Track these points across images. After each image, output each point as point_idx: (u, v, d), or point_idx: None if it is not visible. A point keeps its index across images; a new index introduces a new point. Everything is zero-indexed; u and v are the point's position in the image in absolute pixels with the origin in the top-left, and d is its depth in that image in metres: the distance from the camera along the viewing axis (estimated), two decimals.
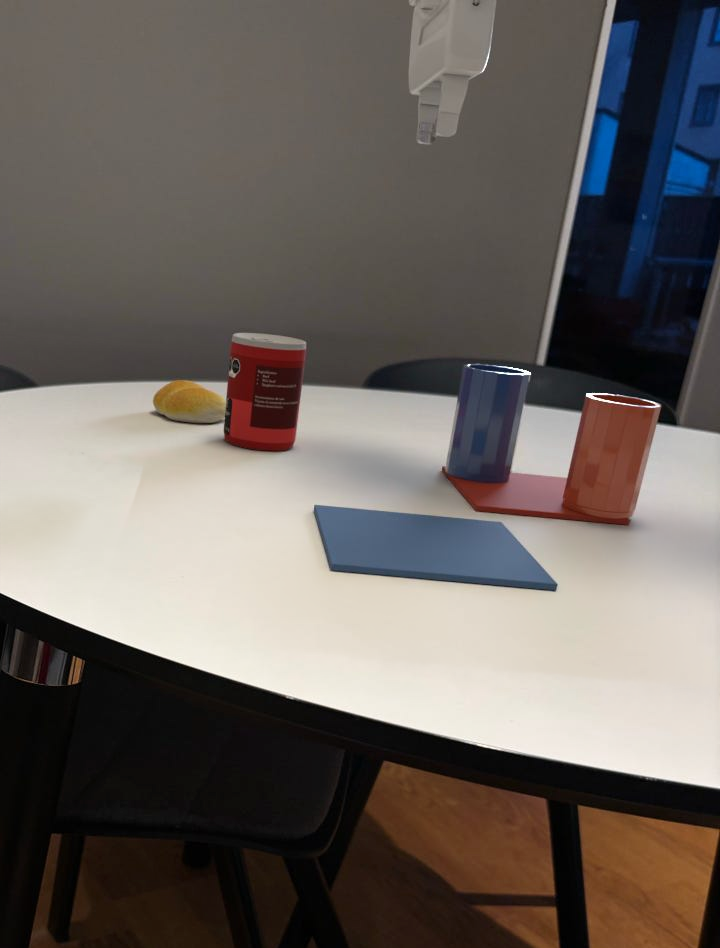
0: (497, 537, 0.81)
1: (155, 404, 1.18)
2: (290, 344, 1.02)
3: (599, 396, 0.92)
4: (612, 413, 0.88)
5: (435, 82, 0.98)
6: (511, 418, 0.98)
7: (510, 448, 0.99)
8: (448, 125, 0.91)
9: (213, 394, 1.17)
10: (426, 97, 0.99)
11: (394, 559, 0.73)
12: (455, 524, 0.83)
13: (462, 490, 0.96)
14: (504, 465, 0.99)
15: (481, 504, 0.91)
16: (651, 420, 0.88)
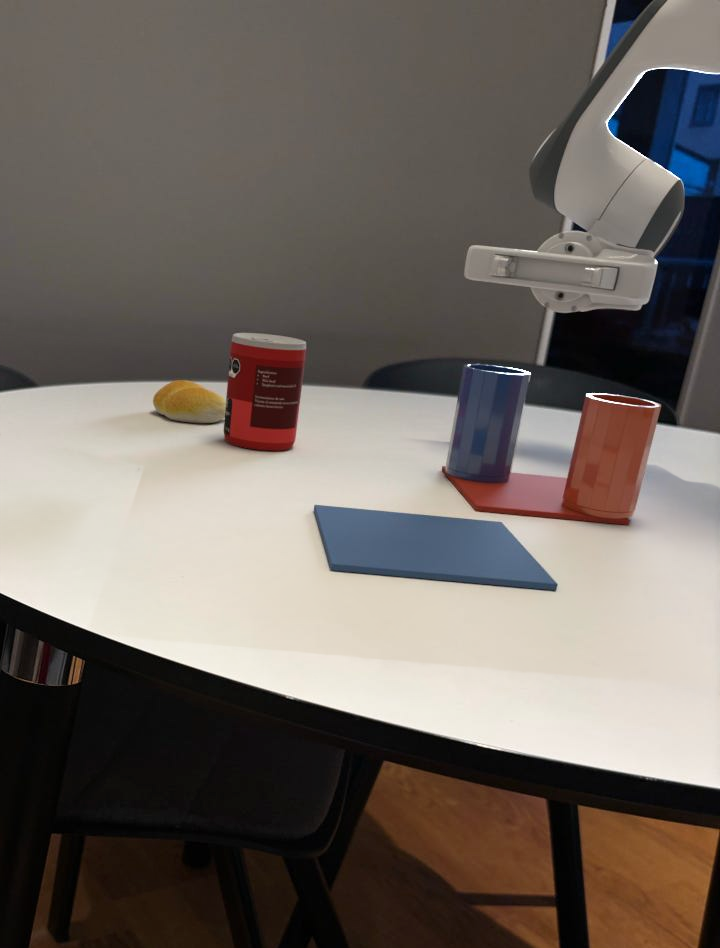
0: (497, 537, 0.81)
1: (155, 404, 1.18)
2: (290, 344, 1.02)
3: (599, 396, 0.92)
4: (612, 413, 0.88)
5: None
6: (511, 418, 0.98)
7: (510, 448, 0.99)
8: None
9: (213, 394, 1.17)
10: None
11: (394, 559, 0.73)
12: (455, 524, 0.83)
13: (462, 490, 0.96)
14: (504, 465, 0.99)
15: (481, 504, 0.91)
16: (651, 420, 0.88)
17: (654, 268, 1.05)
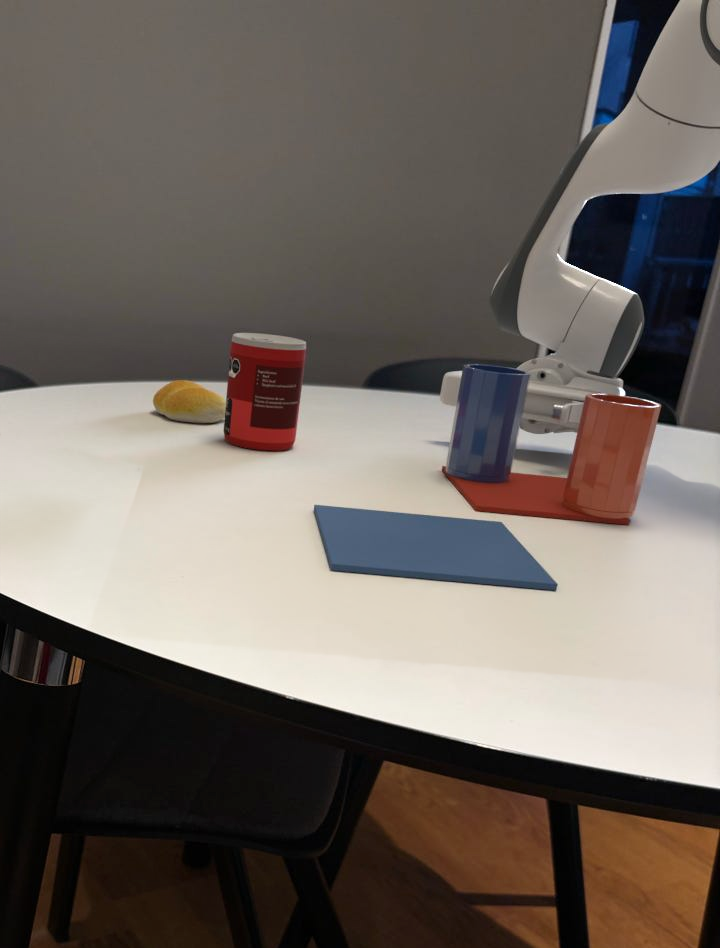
0: (497, 537, 0.81)
1: (155, 404, 1.18)
2: (290, 344, 1.02)
3: (599, 396, 0.92)
4: (612, 413, 0.88)
5: None
6: (511, 418, 0.98)
7: (510, 448, 0.99)
8: None
9: (213, 394, 1.17)
10: None
11: (394, 559, 0.73)
12: (455, 524, 0.83)
13: (462, 490, 0.96)
14: (504, 465, 0.99)
15: (481, 504, 0.91)
16: (651, 420, 0.88)
17: None
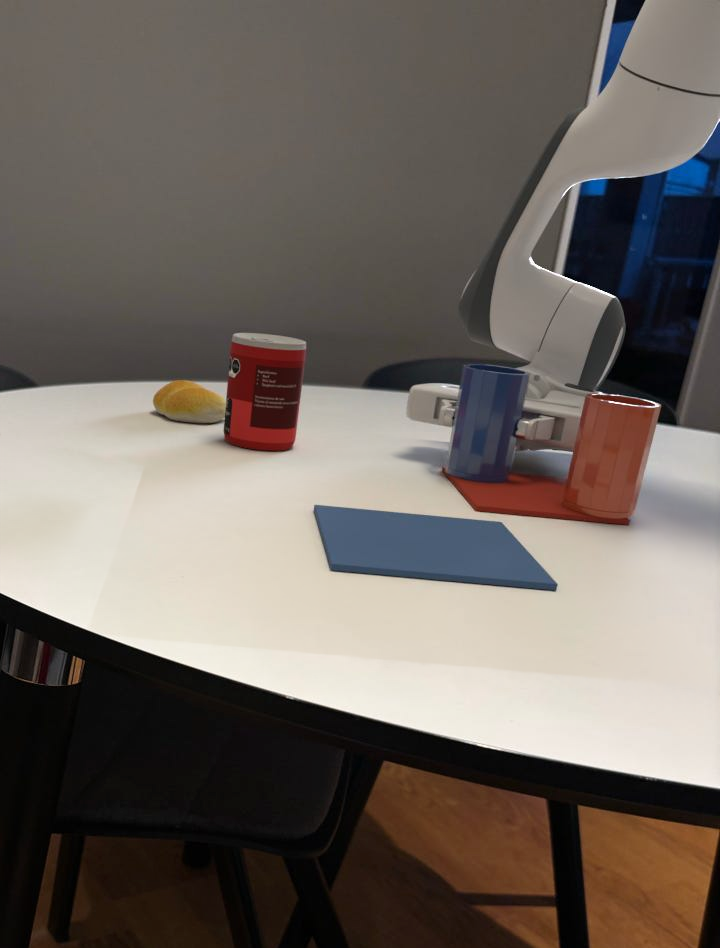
0: (497, 537, 0.81)
1: (155, 404, 1.18)
2: (290, 344, 1.02)
3: (599, 396, 0.92)
4: (612, 413, 0.88)
5: None
6: (511, 418, 0.98)
7: (510, 448, 0.99)
8: None
9: (213, 394, 1.17)
10: None
11: (394, 559, 0.73)
12: (455, 524, 0.83)
13: (462, 490, 0.96)
14: (504, 465, 0.99)
15: (481, 504, 0.91)
16: (651, 420, 0.88)
17: None
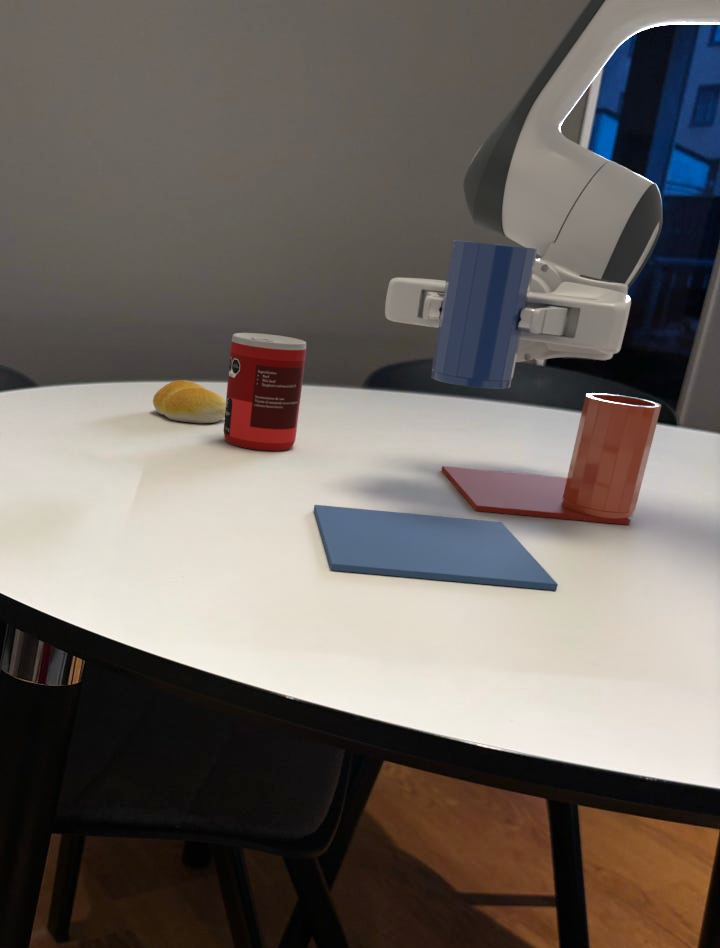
0: (497, 537, 0.81)
1: (155, 404, 1.18)
2: (290, 344, 1.02)
3: (599, 396, 0.92)
4: (612, 413, 0.88)
5: None
6: (512, 304, 0.78)
7: (511, 344, 0.79)
8: None
9: (213, 394, 1.17)
10: None
11: (394, 559, 0.73)
12: (455, 524, 0.83)
13: (462, 490, 0.96)
14: (504, 366, 0.80)
15: (481, 504, 0.91)
16: (651, 420, 0.88)
17: (625, 309, 0.80)
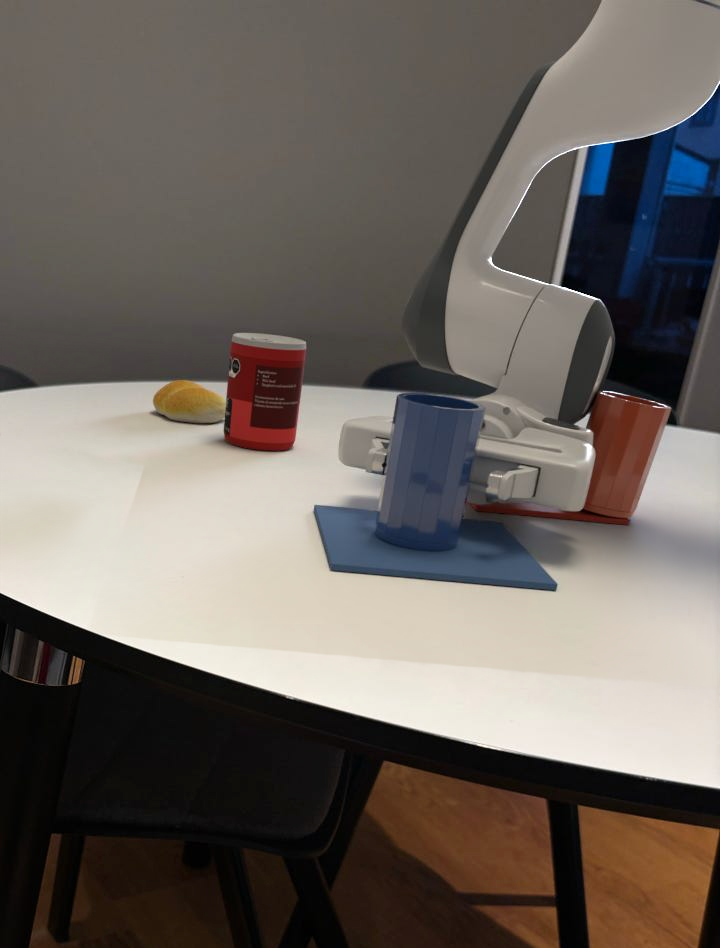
0: (497, 537, 0.81)
1: (155, 404, 1.18)
2: (290, 344, 1.02)
3: (610, 394, 0.92)
4: (623, 410, 0.87)
5: None
6: (458, 467, 0.73)
7: (457, 506, 0.75)
8: None
9: (213, 394, 1.17)
10: None
11: (394, 559, 0.73)
12: None
13: None
14: (449, 528, 0.75)
15: (481, 504, 0.91)
16: (660, 421, 0.88)
17: (588, 470, 0.75)
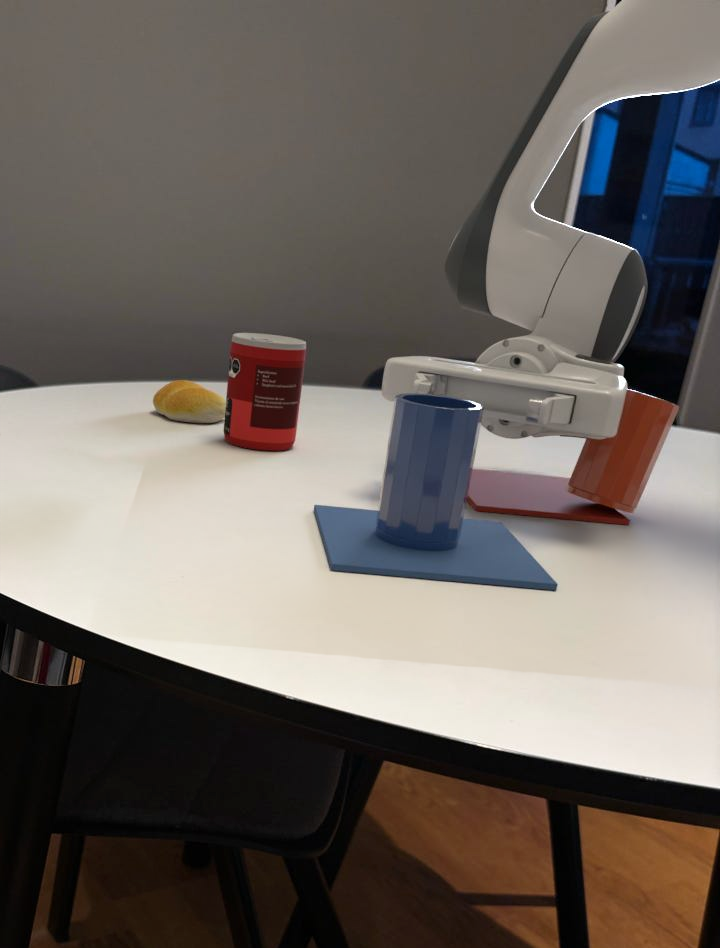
0: (497, 537, 0.81)
1: (155, 404, 1.18)
2: (290, 344, 1.02)
3: None
4: (633, 401, 0.88)
5: None
6: (455, 467, 0.73)
7: (456, 506, 0.75)
8: None
9: (213, 394, 1.17)
10: None
11: (394, 559, 0.73)
12: None
13: None
14: (448, 528, 0.75)
15: (481, 504, 0.91)
16: (668, 417, 0.89)
17: (621, 397, 0.80)
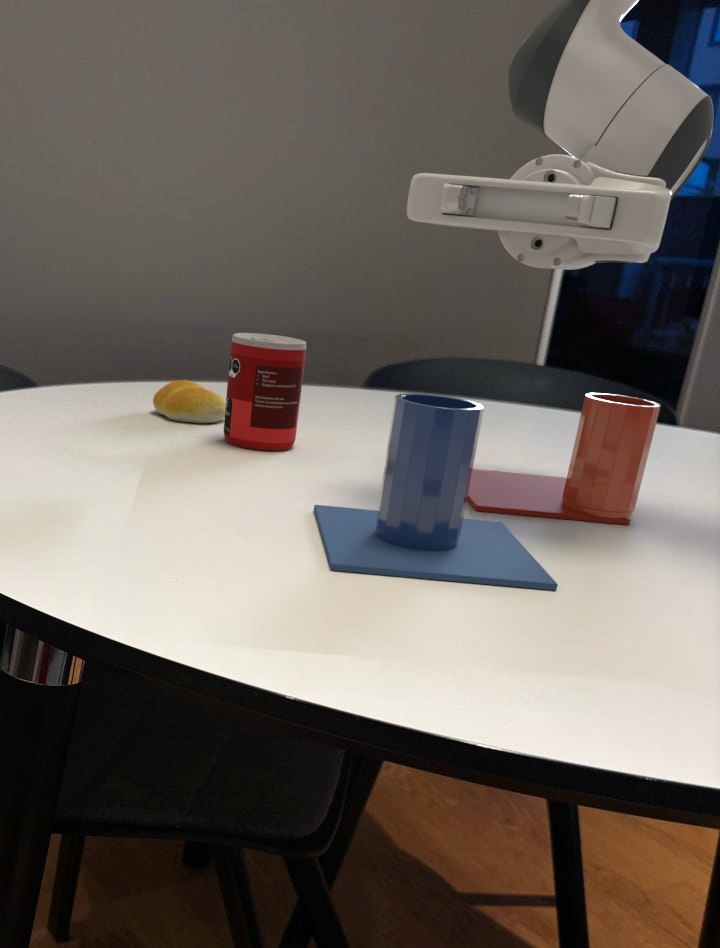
0: (497, 537, 0.81)
1: (155, 404, 1.18)
2: (290, 344, 1.02)
3: (599, 396, 0.92)
4: (611, 413, 0.88)
5: None
6: (455, 467, 0.73)
7: (456, 506, 0.75)
8: None
9: (213, 394, 1.17)
10: None
11: (394, 559, 0.73)
12: None
13: None
14: (448, 528, 0.75)
15: (481, 504, 0.91)
16: (650, 420, 0.88)
17: (667, 197, 0.75)
